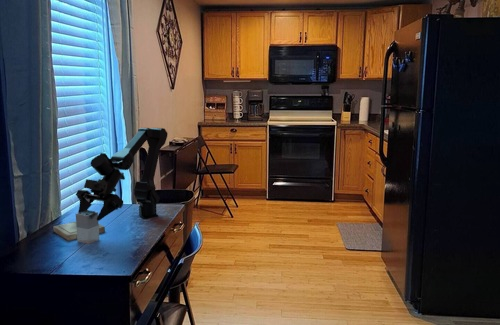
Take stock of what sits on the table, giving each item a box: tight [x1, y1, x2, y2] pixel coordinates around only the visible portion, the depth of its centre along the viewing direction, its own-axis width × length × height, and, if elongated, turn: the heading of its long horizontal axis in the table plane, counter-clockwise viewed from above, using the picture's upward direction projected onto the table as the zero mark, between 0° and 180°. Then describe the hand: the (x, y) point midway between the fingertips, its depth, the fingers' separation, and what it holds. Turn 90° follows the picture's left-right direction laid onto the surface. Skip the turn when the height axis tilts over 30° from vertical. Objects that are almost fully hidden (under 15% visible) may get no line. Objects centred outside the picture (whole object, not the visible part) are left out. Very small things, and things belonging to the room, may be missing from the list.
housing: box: [75, 209, 100, 245], centre depth 149 cm, size 5×6×11 cm
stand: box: [52, 221, 106, 242], centre depth 159 cm, size 14×14×2 cm
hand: (88, 218), depth 149 cm, fingers open, 9 cm apart
